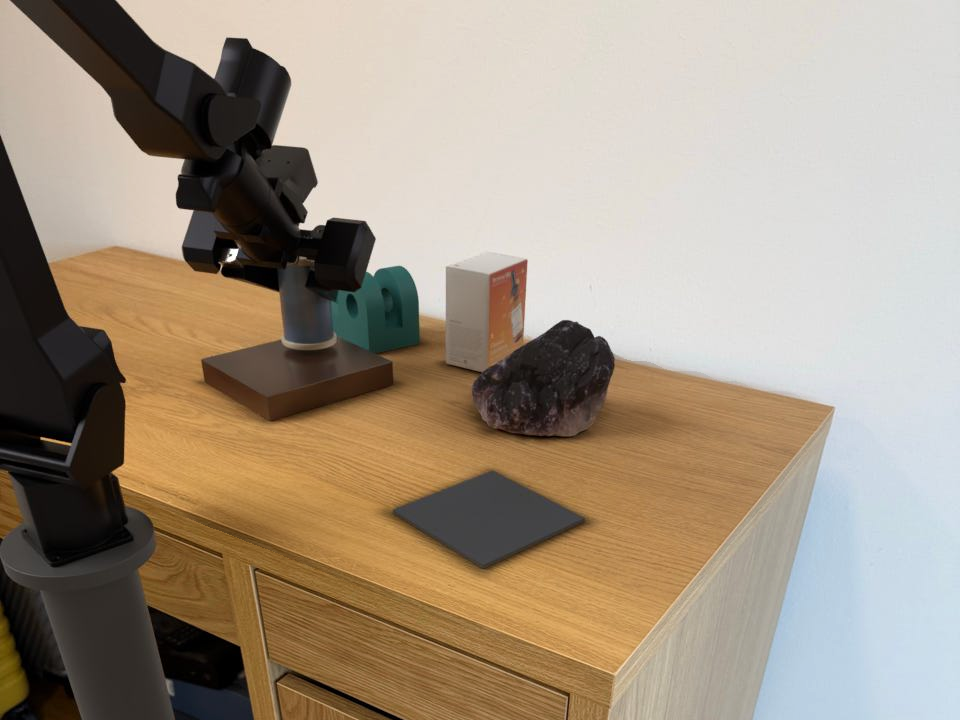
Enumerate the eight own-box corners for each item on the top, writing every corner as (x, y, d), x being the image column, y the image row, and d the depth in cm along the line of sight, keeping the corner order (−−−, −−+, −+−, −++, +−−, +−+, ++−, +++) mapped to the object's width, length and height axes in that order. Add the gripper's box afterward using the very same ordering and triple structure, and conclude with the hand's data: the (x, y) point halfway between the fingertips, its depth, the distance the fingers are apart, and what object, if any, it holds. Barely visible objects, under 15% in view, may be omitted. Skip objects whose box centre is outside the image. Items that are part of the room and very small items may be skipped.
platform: (270, 421, 88) (266, 396, 86) (204, 382, 96) (200, 358, 94) (393, 384, 96) (392, 361, 95) (324, 351, 104) (322, 329, 102)
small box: (486, 375, 99) (489, 274, 92) (444, 364, 101) (443, 265, 95) (524, 354, 104) (529, 257, 98) (483, 344, 106) (485, 249, 100)
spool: (301, 354, 94) (292, 262, 88) (271, 339, 97) (261, 250, 92) (347, 342, 97) (341, 253, 92) (317, 329, 100) (309, 242, 95)
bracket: (419, 343, 106) (418, 273, 102) (369, 354, 103) (365, 282, 98) (344, 303, 118) (339, 239, 113) (297, 312, 115) (290, 246, 110)
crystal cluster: (447, 411, 92) (444, 316, 86) (552, 374, 98) (557, 281, 91) (527, 470, 84) (530, 370, 77) (636, 426, 90) (648, 329, 83)
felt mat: (483, 569, 67) (483, 564, 67) (392, 513, 74) (392, 509, 74) (584, 521, 73) (585, 517, 73) (492, 474, 80) (492, 470, 80)
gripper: (361, 123, 79) (414, 232, 94) (177, 109, 84) (256, 215, 99) (325, 240, 78) (385, 332, 92) (141, 219, 82) (226, 309, 97)
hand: (312, 293), depth 95 cm, fingers closed on spool, 5 cm apart
